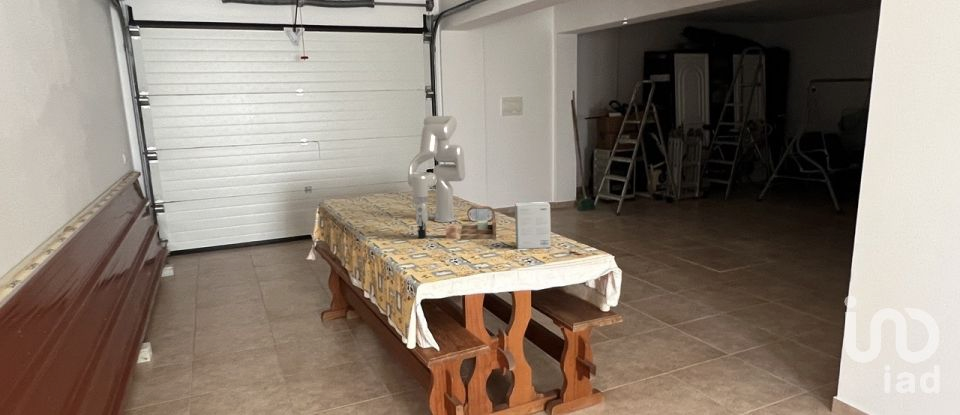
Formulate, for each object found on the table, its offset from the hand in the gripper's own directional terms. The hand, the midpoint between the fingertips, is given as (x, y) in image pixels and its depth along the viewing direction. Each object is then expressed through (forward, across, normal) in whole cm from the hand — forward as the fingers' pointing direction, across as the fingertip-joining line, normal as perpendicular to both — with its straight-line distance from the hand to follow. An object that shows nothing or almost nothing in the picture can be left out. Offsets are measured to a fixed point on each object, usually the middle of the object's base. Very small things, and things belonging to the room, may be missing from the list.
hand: (422, 236), depth 290 cm
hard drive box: (+1, -22, -53) cm, 57 cm away
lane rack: (+1, +6, -27) cm, 27 cm away
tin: (+1, +35, -29) cm, 45 cm away
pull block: (+1, 0, -7) cm, 8 cm away
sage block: (+1, +11, -30) cm, 32 cm away
